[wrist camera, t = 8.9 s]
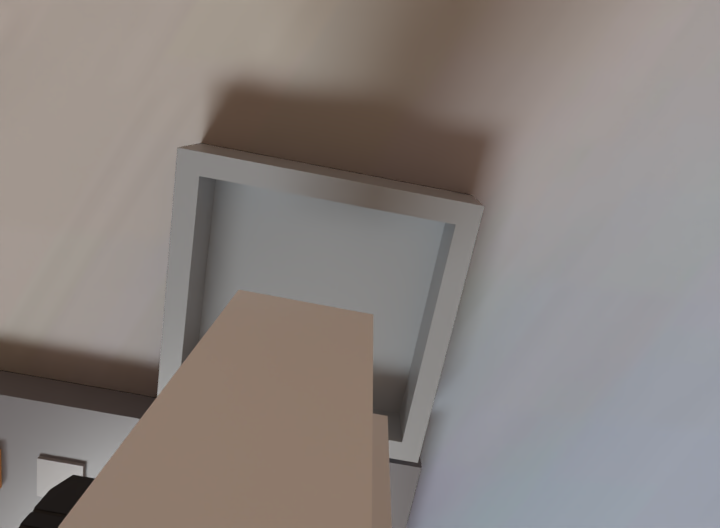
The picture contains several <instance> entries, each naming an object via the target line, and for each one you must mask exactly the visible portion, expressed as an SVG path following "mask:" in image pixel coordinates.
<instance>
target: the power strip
mask: <svg viewBox="0 0 720 528" xmlns="http://www.w3.org/2000/svg"><path fill="white" fill-rule="evenodd" d="M155 399H156V398H154V397H148V396H142V395H137V394H131V393H125V392H120V391H114V390H108V389H103V388H97V387H91V386H85V385H80V384H74V383H68V382H63V381H57V380H51V379H46V378H40V377H34V376H29V375H23V374H17V373H11V372H6V371H0V528H19V526H20V524H21V523H22V521H23V520H24V519H25V518H26V517H27V516H28V514H29V513H30V512H33V510H34V507H35V506H36V505H37V504H38V503H39V502H40V500H41V499H42V498H43V497H44V496H45V495H46V493H47V492H48V491H49V490H50V489H51V488H53V487H54V486H56V485H58V484H59V483H61V482H62V481H64V480H66V479H67V478H69V477H70V476H72V475H78V476H84V477H89V478H96V477H97V475H98V474H99V473H100V471H101V470H102V469H103V467H104V466H105V465H106V463H107V462H108V461H109V459H110V458H111V457H112V456H113V454H114V453H115V452H116V450H117V449H118V448H119V446H120V445H121V444H122V442H123V441H124V440H125V438H126V437H127V436H128V434H129V433H130V432H131V431H132V429H133V428H134V427H135V425H136V424H137V423H138V421H139V420H140V419H141V417H142V416H143V415H144V413H145V412H146V411H147V410H148V408H149V407H150V406H151V404H152V403H153V402H154V400H155ZM389 468H390V494H391V520H392V528H406V525H407V521H408V517H409V513H410V510H411V506H412V502H413V498H414V494H415V491H416V487H417V483H418V479H419V475H420V472H421V461H420V456H419V460H418V463H415V462H409V461H404V460H398V459H392V458H389Z"/></svg>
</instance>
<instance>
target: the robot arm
mask: <svg viewBox="0 0 720 528" xmlns="http://www.w3.org/2000/svg"><path fill="white" fill-rule="evenodd" d="M94 479H95V478H89V477H84V476H78V475H72V476H70V477H69V478H67V479H66V480H64V481H62V482H61V483H59V484H58V485H56V486H54V487H53V488H51V489H50V490H49V491H48V492H47V493H46V495H45V496H44V497H43V498H42V499H41V500H40V502H39V503H38V504H37V505H36V506H35V507H34V510H33V512H30V513H29V514H28V516H27V517H26V518H25V519H24V520H23V521H22V523H21V524H20V526H19V528H58V527H59V525H60V524H61V523H62V521H63V520H64V519H65V517H66V516H67V515H68V513H69V512H70V511H71V509H72V508H73V507H74V505H75V504H76V503H77V502H78V500H79V499H80V498H81V496H82V495H83V494H84V492H85V491H86V490H87V488H88V487H89V486H90V484H91V483H92V482H93V480H94ZM372 528H392V520H391V494H390V468H389V442H388V416H384V415H379V414H373V431H372Z"/></svg>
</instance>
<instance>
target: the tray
mask: <svg viewBox="0 0 720 528" xmlns="http://www.w3.org/2000/svg"><path fill="white" fill-rule="evenodd" d="M484 207H485V206H484V205H483V204H481V203H480V202H479V201H478V200H477V199H475V198H474V197H473V196H472V195H468V194H463V193H458V192H453V191H448V190H442V189H437V188H432V187H427V186H421V185H416V184H411V183H406V182H401V181H395V180H390V179H385V178H380V177H374V176H369V175H364V174H359V173H354V172H348V171H343V170H338V169H333V168H327V167H322V166H317V165H312V164H307V163H301V162H296V161H291V160H286V159H281V158H275V157H270V156H265V155H260V154H254V153H249V152H244V151H239V150H234V149H228V148H223V147H218V146H213V145H207V144H202V143H199V144H194V145H188V146H183V147H178V148H177V159H176V171H175V184H174V196H173V208H172V220H171V232H170V244H169V256H168V269H167V281H166V293H165V305H164V317H163V329H162V341H161V353H160V366H159V378H158V390H157V396H158V395H159V394H160V392H161V391H162V390H163V388H164V387H165V386H166V385H167V383H168V382H169V381H170V379H171V378H172V377H173V375H174V374H175V373H176V371H177V370H178V369H179V367H180V366H181V365H182V364H183V362H184V361H185V360H186V358H187V357H188V356H189V354H190V353H191V352H192V350H193V349H194V348H195V346H196V345H197V344H198V342H199V341H200V340H201V339H202V337H203V336H204V335H205V333H206V332H207V331H208V329H209V328H210V327H211V325H212V324H213V323H214V321H215V320H216V319H217V318H218V316H219V315H220V314H221V312H222V311H223V310H224V308H225V307H226V306H227V304H228V303H229V302H230V300H231V299H232V298H233V296H234V295H235V294H236V293H237V291H238V290H244V291H249V292H254V293H260V294H265V295H271V296H276V297H281V298H287V299H292V300H298V301H303V302H309V303H314V304H319V305H325V306H330V307H336V308H341V309H346V310H352V311H357V312H363V313H368V314H373V414H379V415H384V416H388V442H389V458H392V459H398V460H404V461H409V462H415V463H418V460H419V456H420V453H421V449H422V445H423V441H424V437H425V433H426V430H427V426H428V422H429V418H430V414H431V410H432V407H433V403H434V399H435V395H436V391H437V387H438V383H439V380H440V376H441V372H442V368H443V364H444V360H445V357H446V353H447V349H448V345H449V341H450V337H451V333H452V330H453V326H454V322H455V318H456V314H457V310H458V307H459V303H460V299H461V295H462V291H463V287H464V283H465V280H466V276H467V272H468V268H469V264H470V260H471V257H472V253H473V249H474V245H475V241H476V237H477V233H478V230H479V226H480V222H481V218H482V214H483V210H484Z"/></svg>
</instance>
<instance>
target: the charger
mask: <svg viewBox="0 0 720 528" xmlns="http://www.w3.org/2000/svg"><path fill="white" fill-rule="evenodd" d="M372 431H373V314H368V313H363V312H357V311H352V310H346V309H341V308H336V307H330V306H325V305H319V304H314V303H309V302H303V301H298V300H292V299H287V298H281V297H276V296H271V295H265V294H260V293H254V292H249V291H244V290H238V291H237V293H236V294H235V295H234V296H233V298H232V299H231V300H230V302H229V303H228V304H227V306H226V307H225V308H224V310H223V311H222V312H221V314H220V315H219V316H218V318H217V319H216V320H215V321H214V323H213V324H212V325H211V327H210V328H209V329H208V331H207V332H206V333H205V335H204V336H203V337H202V339H201V340H200V341H199V342H198V344H197V345H196V346H195V348H194V349H193V350H192V352H191V353H190V354H189V356H188V357H187V358H186V360H185V361H184V362H183V364H182V365H181V366H180V367H179V369H178V370H177V371H176V373H175V374H174V375H173V377H172V378H171V379H170V381H169V382H168V383H167V385H166V386H165V387H164V388H163V390H162V391H161V392H160V394H159V395H158V396H157V398H156V399H155V400H154V402H153V403H152V404H151V406H150V407H149V408H148V410H147V411H146V412H145V413H144V415H143V416H142V417H141V419H140V420H139V421H138V423H137V424H136V425H135V427H134V428H133V429H132V431H131V432H130V433H129V434H128V436H127V437H126V438H125V440H124V441H123V442H122V444H121V445H120V446H119V448H118V449H117V450H116V452H115V453H114V454H113V456H112V457H111V458H110V459H109V461H108V462H107V463H106V465H105V466H104V467H103V469H102V470H101V471H100V473H99V474H98V475H97V477H96V478H95V479H94V480H93V482H92V483H91V484H90V486H89V487H88V488H87V490H86V491H85V492H84V494H83V495H82V496H81V498H80V499H79V500H78V502H77V503H76V504H75V505H74V507H73V508H72V509H71V511H70V512H69V513H68V515H67V516H66V517H65V519H64V520H63V521H62V523H61V524H60V525H59V527H58V528H372Z"/></svg>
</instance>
